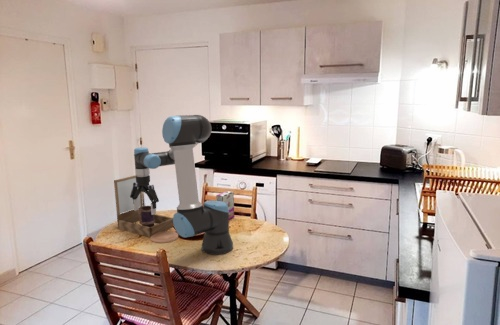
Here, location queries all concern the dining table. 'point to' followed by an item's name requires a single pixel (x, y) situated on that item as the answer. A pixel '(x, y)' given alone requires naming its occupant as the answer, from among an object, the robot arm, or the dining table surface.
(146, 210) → the mug
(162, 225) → the cold frame
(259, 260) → the dining table surface
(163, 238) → the saucer
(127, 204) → the lid
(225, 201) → the candy bar box
